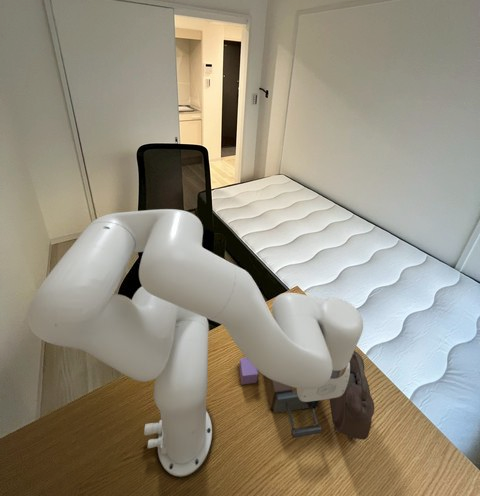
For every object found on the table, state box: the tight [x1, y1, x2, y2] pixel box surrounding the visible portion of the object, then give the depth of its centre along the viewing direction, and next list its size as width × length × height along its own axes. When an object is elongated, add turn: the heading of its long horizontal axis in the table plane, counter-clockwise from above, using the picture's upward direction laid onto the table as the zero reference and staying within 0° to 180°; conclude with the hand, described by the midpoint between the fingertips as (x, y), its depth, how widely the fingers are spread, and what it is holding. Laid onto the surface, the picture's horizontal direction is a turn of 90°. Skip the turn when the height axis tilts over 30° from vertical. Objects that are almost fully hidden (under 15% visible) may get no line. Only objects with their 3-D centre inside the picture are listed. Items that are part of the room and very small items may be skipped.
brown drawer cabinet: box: [263, 375, 292, 410], centre depth 70 cm, size 15×13×9 cm
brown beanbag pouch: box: [329, 349, 376, 441], centre depth 60 cm, size 15×7×20 cm, turn 168°
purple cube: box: [238, 357, 259, 385], centre depth 70 cm, size 4×4×4 cm
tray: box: [273, 391, 323, 439], centre depth 65 cm, size 20×11×7 cm, turn 8°
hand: (310, 401), depth 56 cm, fingers closed
